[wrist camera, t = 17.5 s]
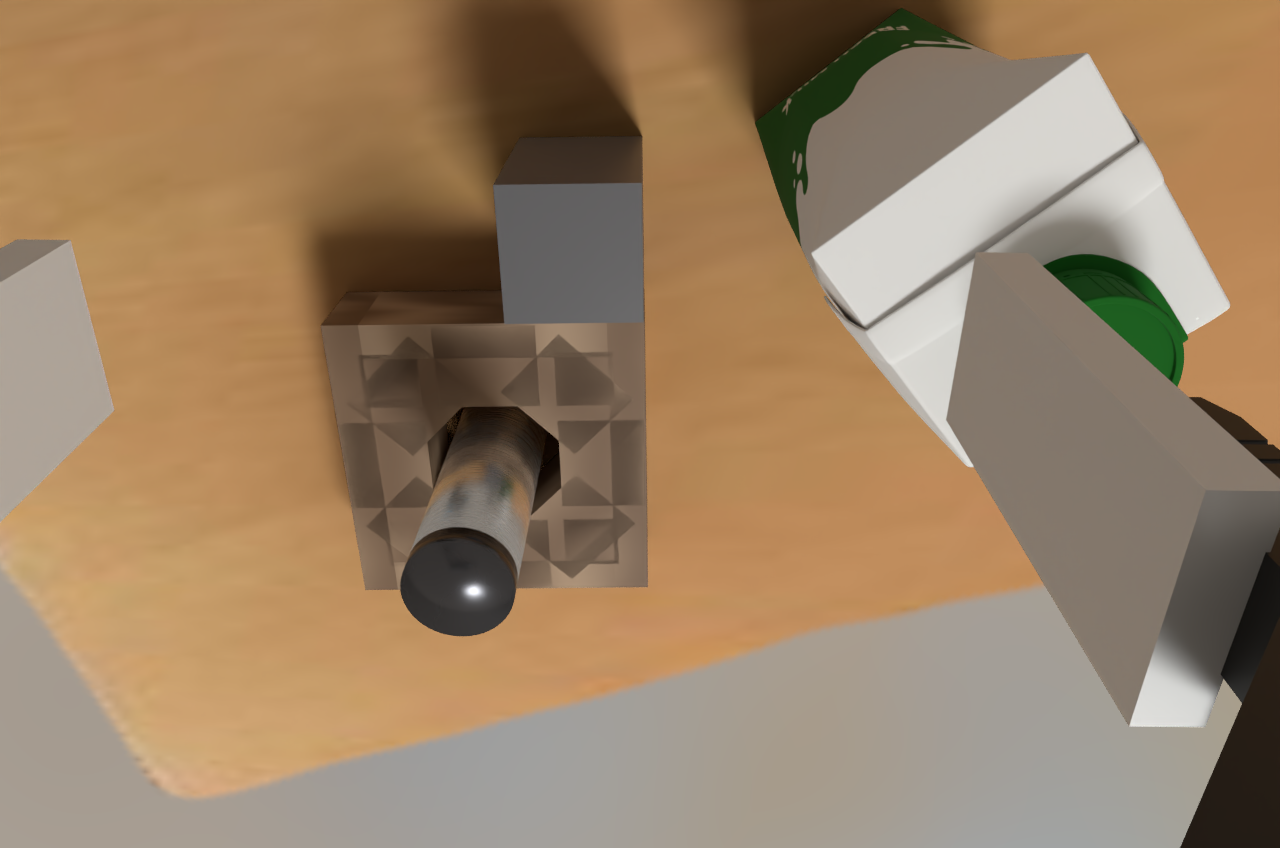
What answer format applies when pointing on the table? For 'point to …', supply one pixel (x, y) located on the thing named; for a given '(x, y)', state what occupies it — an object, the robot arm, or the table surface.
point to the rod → (476, 524)
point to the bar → (571, 230)
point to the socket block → (491, 377)
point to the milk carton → (976, 200)
